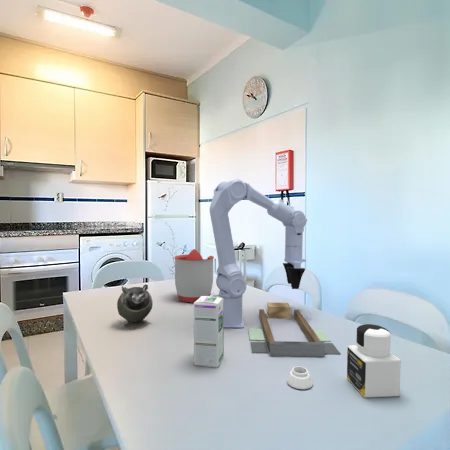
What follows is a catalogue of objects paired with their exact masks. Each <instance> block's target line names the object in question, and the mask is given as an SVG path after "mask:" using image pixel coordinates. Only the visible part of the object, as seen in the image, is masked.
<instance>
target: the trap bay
mask: <svg viewBox="0 0 450 450" xmlns="http://www.w3.org/2000/svg"><path fill="white" fill-rule="evenodd" d="M249 344H250V349H251V353H252V354H269V356H270V357H307V358H308V357H309V358H311V357H312V358H314V357H315V358H316V357H317V358H319V357H320V358H321V357H322V358H325V355H341V352H340V350H339V349H337V347H336V346H335V344H334V343H332V342H309V341H286V340H285V341H283V340H282V341H281V340H280V341H279V340H277V341H276V340H275V341H269V350H268V347H267V343H266V341H250V343H249Z"/></svg>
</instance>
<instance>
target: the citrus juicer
mask: <svg viewBox="0 0 450 450" xmlns="http://www.w3.org/2000/svg"><path fill="white" fill-rule="evenodd" d="M214 259H215V257H214V256H213V255H210V256H207V258H204V259H203V256H202V255H201V253H200V252H199V251H198V250H197V249H195V248H193V249H192V250H191V251H190V252H189V253H188V254H179V255H175V256H174V285H175V290H176V293H177V296H178V299H179V301H180V302H186V303H193V304H194V302H195V301H196V300H198V299H199V298H200V297H201V296H211V293H212V289H213V286H214V285H213V284H214Z"/></svg>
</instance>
